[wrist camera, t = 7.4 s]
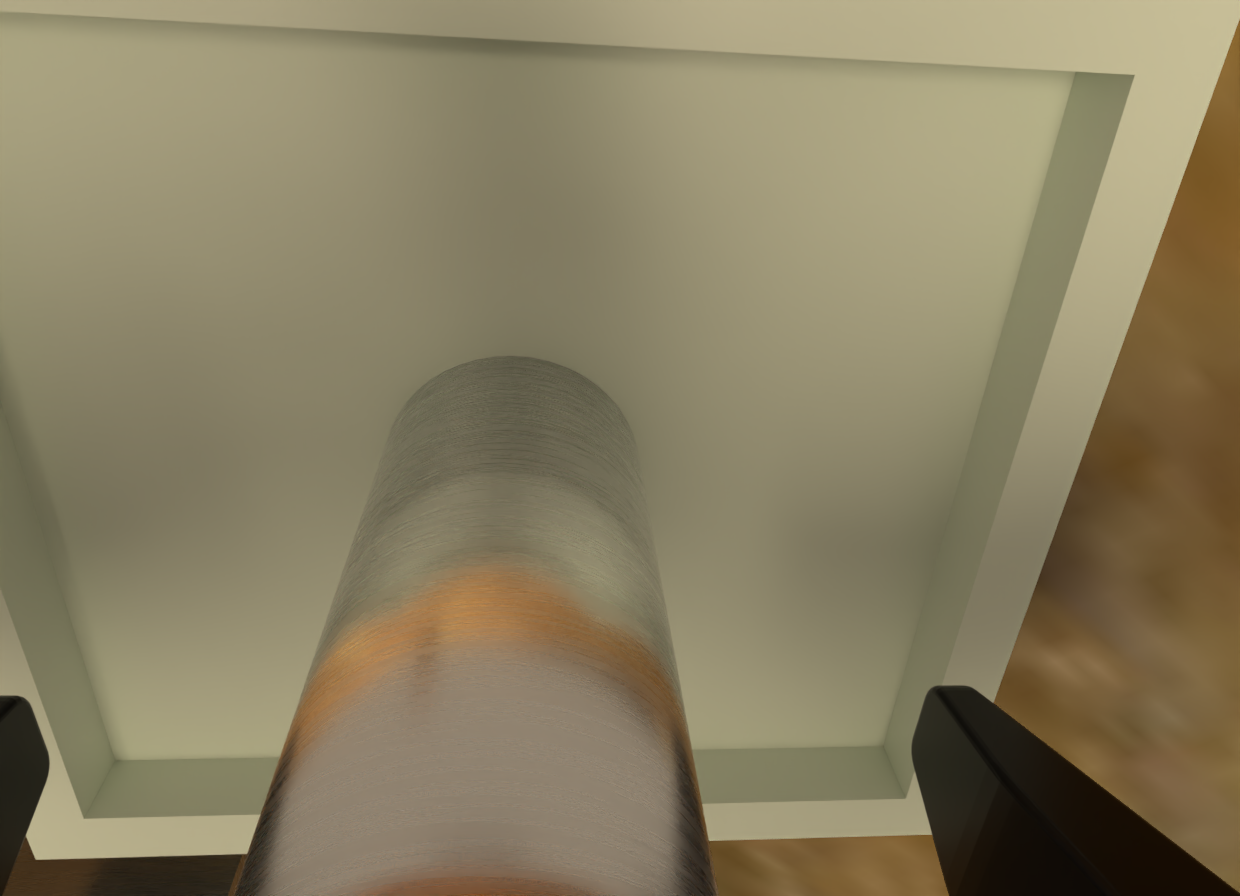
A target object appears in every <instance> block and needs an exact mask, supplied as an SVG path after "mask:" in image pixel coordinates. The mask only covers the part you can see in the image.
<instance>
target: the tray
mask: <svg viewBox="0 0 1240 896" xmlns="http://www.w3.org/2000/svg"><path fill="white" fill-rule="evenodd" d="M1239 19H1240V0H0V696H1V695H18V696H21V697H24V698H25V699H26V700H28V701H29V702H30V704H31V706H32V709H33V712H34V714H35V717H36V720H37V722H38V725H39V728H40V731H41V733H42V736H43V739H44V742H45V744H46V747H47V750H48V753H49V759H50V767H49V774H48V778H47V781H46V784H45V787H44V789H43V792H42V795H41V797H40V800H39V803H38V805H37V808H36V810H35V813H34V816H33V818H32V821H31V824H30V826H29V829H28V831H27V834H26V837H27V840H28V842H29V845H30V847H31V850H32V852H33V854H34V857H35V859H36V860H50V859H85V858H120V857H156V856H191V855H226V854H247V853H248V850H249V847H250V844H251V841H252V838H253V835H254V832H255V829H256V826H257V823H258V820H259V817H260V814H261V811H262V808H263V806H264V803H265V800H266V797H267V794H268V791H269V788H270V785H271V782H272V779H273V776H274V773H275V770H276V767H277V764H278V761H279V758H280V755H281V752H282V749H283V746H284V743H285V740H286V738H287V735H288V732H289V729H290V726H291V723H292V720H293V717H294V714H295V711H296V708H297V705H298V702H299V699H300V696H301V693H302V690H303V687H304V684H305V681H306V678H307V675H308V672H309V670H310V667H311V664H312V661H313V658H314V655H315V652H316V649H317V646H318V643H319V640H320V637H321V634H322V631H323V628H324V625H325V622H326V619H327V616H328V613H329V610H330V607H331V604H332V602H333V599H334V596H335V593H336V590H337V587H338V584H339V581H340V578H341V575H342V572H343V569H344V566H345V563H346V560H347V557H348V554H349V551H350V548H351V545H352V542H353V539H354V536H355V534H356V531H357V528H358V525H359V522H360V519H361V516H362V513H363V510H364V507H365V504H366V501H367V498H368V495H369V492H370V489H371V486H372V483H373V480H374V477H375V474H376V471H377V468H378V466H379V463H380V460H381V457H382V454H383V451H384V448H385V445H386V442H387V439H388V436H389V433H390V430H391V427H392V425H393V423H394V421H395V419H396V417H397V415H398V413H399V412H400V411H401V409H402V408H403V406H404V405H405V404H406V402H407V401H408V400H409V399H410V398H411V397H412V396H413V395H414V393H415V392H416V391H417V390H418V389H420V388H421V387H422V386H423V385H425V384H426V383H427V382H428V381H430V380H431V379H433V378H434V377H436V376H438V375H439V374H441V373H443V372H444V371H446V370H449V369H451V368H453V367H456V366H458V365H460V364H463V363H467V362H470V361H474V360H477V359H483V358H490V357H498V356H520V357H531V358H536V359H541V360H546V361H550V362H553V363H556V364H558V365H561V366H564V367H567V368H569V369H571V370H573V371H575V372H577V373H579V374H581V375H583V376H584V377H586V378H587V379H589V380H590V381H592V382H593V383H595V384H596V385H597V386H598V387H599V388H601V389H602V390H603V391H604V392H605V393H606V394H607V395H608V396H609V397H610V398H611V399H612V400H613V401H614V402H615V404H616V405H617V406H618V407H619V409H620V410H621V412H622V413H623V415H624V416H625V418H626V419H627V422H628V424H629V426H630V428H631V430H632V432H633V435H634V438H635V442H636V445H637V450H638V455H639V461H640V466H641V472H642V477H643V483H644V488H645V494H646V499H647V505H648V510H649V516H650V521H651V526H652V532H653V537H654V543H655V548H656V554H657V559H658V565H659V570H660V576H661V581H662V587H663V592H664V598H665V603H666V609H667V614H668V620H669V625H670V631H671V636H672V642H673V647H674V653H675V658H676V664H677V669H678V675H679V680H680V685H681V691H682V696H683V702H684V707H685V713H686V718H687V724H688V729H689V735H690V740H691V746H692V751H693V757H694V762H695V768H696V773H697V779H698V784H699V790H700V795H701V801H702V806H703V812H704V817H705V823H706V828H707V834H708V839H709V841H721V840H757V839H792V838H827V837H863V836H898V835H932V832H931V829H930V825H929V821H928V818H927V814H926V810H925V807H924V803H923V799H922V795H921V792H920V788H919V784H918V781H917V777H916V773H915V770H914V766H913V762H912V755H911V745H912V738H913V735H914V732H915V728H916V725H917V722H918V719H919V715H920V712H921V709H922V706H923V702H924V699H925V696H926V694H927V692H928V691H929V689H930V688H932V687H934V686H938V685H965V686H970V687H972V688H974V689H975V690H977V691H978V692H979V693H981V694H982V695H983V696H985V697H986V698H987V699H989V700H990V701H991V702H992V703H994V700H995V697H996V694H997V692H998V689H999V686H1000V683H1001V681H1002V678H1003V675H1004V672H1005V669H1006V667H1007V664H1008V661H1009V658H1010V656H1011V653H1012V650H1013V647H1014V644H1015V642H1016V639H1017V636H1018V633H1019V631H1020V628H1021V625H1022V622H1023V619H1024V617H1025V614H1026V611H1027V608H1028V606H1029V603H1030V600H1031V597H1032V594H1033V592H1034V589H1035V586H1036V583H1037V581H1038V578H1039V575H1040V572H1041V569H1042V567H1043V564H1044V561H1045V558H1046V556H1047V553H1048V550H1049V547H1050V544H1051V542H1052V539H1053V536H1054V533H1055V531H1056V528H1057V525H1058V522H1059V519H1060V517H1061V514H1062V511H1063V508H1064V505H1065V503H1066V500H1067V497H1068V494H1069V492H1070V489H1071V486H1072V483H1073V480H1074V478H1075V475H1076V472H1077V469H1078V467H1079V464H1080V461H1081V458H1082V455H1083V453H1084V450H1085V447H1086V444H1087V442H1088V439H1089V436H1090V433H1091V430H1092V428H1093V425H1094V422H1095V419H1096V417H1097V414H1098V411H1099V408H1100V405H1101V403H1102V400H1103V397H1104V394H1105V392H1106V389H1107V386H1108V383H1109V380H1110V378H1111V375H1112V372H1113V369H1114V367H1115V364H1116V361H1117V358H1118V355H1119V353H1120V350H1121V347H1122V344H1123V342H1124V339H1125V336H1126V333H1127V330H1128V328H1129V325H1130V322H1131V319H1132V316H1133V314H1134V311H1135V308H1136V305H1137V303H1138V300H1139V297H1140V294H1141V291H1142V289H1143V286H1144V283H1145V280H1146V278H1147V275H1148V272H1149V269H1150V266H1151V264H1152V261H1153V258H1154V255H1155V253H1156V250H1157V247H1158V244H1159V241H1160V239H1161V236H1162V233H1163V230H1164V228H1165V225H1166V222H1167V219H1168V216H1169V214H1170V211H1171V208H1172V205H1173V203H1174V200H1175V197H1176V194H1177V191H1178V189H1179V186H1180V183H1181V180H1182V178H1183V175H1184V172H1185V169H1186V166H1187V164H1188V161H1189V158H1190V155H1191V153H1192V150H1193V147H1194V144H1195V141H1196V139H1197V136H1198V133H1199V130H1200V127H1201V125H1202V122H1203V119H1204V116H1205V114H1206V111H1207V108H1208V105H1209V102H1210V100H1211V97H1212V94H1213V91H1214V89H1215V86H1216V83H1217V80H1218V77H1219V75H1220V72H1221V69H1222V66H1223V64H1224V61H1225V58H1226V55H1227V52H1228V50H1229V47H1230V44H1231V41H1232V39H1233V36H1234V33H1235V30H1236V27H1237V25H1238V22H1239Z"/></svg>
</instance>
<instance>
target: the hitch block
mask: <svg viewBox="0 0 1240 896" xmlns="http://www.w3.org/2000/svg"><path fill="white" fill-rule="evenodd" d="M246 856H247V854H226V855H191V856H156V857H120V858H85V859H50V860H36V859H35V857H34V854H33V852H32V850H31V847H30V845H29V842H28V840H27V837H25V839H24V842H23V845H22V847H21V850H20V852H19V855H18V858H17V860H16V863H15V866H14V868H13V871H12V873H11V876H10V879H9V881H8V884H7V887H6V889H5V892H4V894H3V896H233V894H234V891H235V888H236V885H237V882H238V879H239V876H240V873H241V871H242V868H243V865H244V862H245V859H246Z"/></svg>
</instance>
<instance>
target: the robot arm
mask: <svg viewBox="0 0 1240 896" xmlns="http://www.w3.org/2000/svg"><path fill="white" fill-rule="evenodd" d="M911 755H912V762H913V766H914V770H915V773H916V777H917V781H918V784H919V788H920V792H921V795H922V799H923V803H924V807H925V810H926V814H927V818H928V821H929V825H930V829H931V832H932V836H933V840H934V843H935V847H936V851H937V854H938V858H939V862H940V865H941V869H942V873H943V876H944V880H945V883H946V887H947V890H948V893H949V896H1240V893H1239V892H1238V891H1236V890H1235V889H1234V888H1232V887H1231V886H1230V885H1228V884H1227V883H1226V882H1225V881H1223V880H1222V879H1221V878H1219V877H1218V876H1217V875H1215V874H1214V873H1213V872H1212V871H1210V870H1209V869H1208V868H1206V867H1205V866H1204V865H1203V864H1201V863H1200V862H1199V861H1197V860H1196V859H1195V858H1193V857H1192V856H1191V855H1190V854H1188V853H1187V852H1186V851H1184V850H1183V849H1182V848H1180V847H1179V846H1178V845H1177V844H1175V843H1174V842H1173V841H1171V840H1170V839H1169V838H1168V837H1166V836H1165V835H1164V834H1162V833H1161V832H1160V831H1158V830H1157V829H1156V828H1155V827H1153V826H1152V825H1151V824H1149V823H1148V822H1147V821H1145V820H1144V819H1143V818H1142V817H1140V816H1139V815H1138V814H1136V813H1135V812H1134V811H1133V810H1131V809H1130V808H1129V807H1127V806H1126V805H1125V804H1123V803H1122V802H1121V801H1120V800H1118V799H1117V798H1116V797H1114V796H1113V795H1112V794H1110V793H1109V792H1108V791H1107V790H1105V789H1104V788H1103V787H1101V786H1100V785H1099V784H1097V783H1096V782H1095V781H1094V780H1092V779H1091V778H1090V777H1088V776H1087V775H1086V774H1085V773H1083V772H1082V771H1081V770H1079V769H1078V768H1077V767H1075V766H1074V765H1073V764H1072V763H1070V762H1069V761H1068V760H1066V759H1065V758H1064V757H1062V756H1061V755H1060V754H1059V753H1057V752H1056V751H1055V750H1053V749H1052V748H1051V747H1050V746H1048V745H1047V744H1046V743H1044V742H1043V741H1042V740H1040V739H1039V738H1038V737H1037V736H1035V735H1034V734H1033V733H1031V732H1030V731H1029V730H1027V729H1026V728H1025V727H1024V726H1022V725H1021V724H1020V723H1018V722H1017V721H1016V720H1015V719H1013V718H1012V717H1011V716H1009V715H1008V714H1007V713H1005V712H1004V711H1003V710H1002V709H1000V708H999V707H998V706H996V705H995V704H994V703H992V702H991V701H990V700H989V699H987V698H986V697H985V696H983V695H982V694H981V693H979V692H978V691H977V690H975V689H974V688H972V687H970V686H965V685H938V686H934V687H932V688H930V689H929V691H928V692H927V694H926V696H925V699H924V702H923V706H922V709H921V712H920V715H919V719H918V722H917V725H916V728H915V732H914V735H913V738H912V745H911ZM49 767H50V759H49V753H48V750H47V747H46V744H45V742H44V739H43V736H42V733H41V731H40V728H39V725H38V722H37V720H36V717H35V714H34V712H33V709H32V706H31V704H30V702H29V701H28V700H26V699H25V698H24V697H21V696H18V695H1V696H0V896H3V894H4V892H5V889H6V887H7V884H8V881H9V879H10V876H11V873H12V871H13V868H14V866H15V863H16V860H17V858H18V855H19V852H20V850H21V847H22V845H23V842H24V839H25V837H26V834H27V831H28V829H29V826H30V824H31V821H32V818H33V816H34V813H35V810H36V808H37V805H38V803H39V800H40V797H41V795H42V792H43V789H44V787H45V784H46V781H47V778H48V774H49Z"/></svg>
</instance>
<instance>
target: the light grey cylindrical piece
mask: <svg viewBox="0 0 1240 896" xmlns="http://www.w3.org/2000/svg"><path fill="white" fill-rule="evenodd" d="M233 896H719V894H718V888H717V883H716V877H715V872H714V866H713V861H712V855H711V850H710V844H709V839H708V834H707V828H706V823H705V817H704V812H703V806H702V801H701V795H700V790H699V784H698V779H697V773H696V768H695V762H694V757H693V751H692V746H691V740H690V735H689V729H688V724H687V718H686V713H685V707H684V702H683V696H682V691H681V685H680V680H679V675H678V669H677V664H676V658H675V653H674V647H673V642H672V636H671V631H670V625H669V620H668V614H667V609H666V603H665V598H664V592H663V587H662V581H661V576H660V570H659V565H658V559H657V554H656V548H655V543H654V537H653V532H652V526H651V521H650V516H649V510H648V505H647V499H646V494H645V488H644V483H643V477H642V472H641V466H640V461H639V455H638V450H637V445H636V442H635V438H634V435H633V432H632V430H631V428H630V426H629V424H628V422H627V419H626V418H625V416H624V415H623V413H622V412H621V410H620V409H619V407H618V406H617V405H616V404H615V402H614V401H613V400H612V399H611V398H610V397H609V396H608V395H607V394H606V393H605V392H604V391H603V390H602V389H601V388H599V387H598V386H597V385H596V384H595V383H593V382H592V381H590V380H589V379H587V378H586V377H584V376H583V375H581V374H579V373H577V372H575V371H573V370H571V369H569V368H567V367H564V366H561V365H558V364H556V363H553V362H550V361H546V360H541V359H536V358H531V357H520V356H498V357H490V358H483V359H477V360H474V361H470V362H467V363H463V364H460V365H458V366H456V367H453V368H451V369H449V370H446V371H444V372H443V373H441V374H439V375H438V376H436V377H434V378H433V379H431V380H430V381H428V382H427V383H426V384H425V385H423V386H422V387H421V388H420V389H418V390H417V391H416V392H415V393H414V395H413V396H412V397H411V398H410V399H409V400H408V401H407V402H406V404H405V405H404V406H403V408H402V409H401V411H400V412H399V413H398V415H397V417H396V419H395V421H394V423H393V425H392V427H391V430H390V433H389V436H388V439H387V442H386V445H385V448H384V451H383V454H382V457H381V460H380V463H379V466H378V468H377V471H376V474H375V477H374V480H373V483H372V486H371V489H370V492H369V495H368V498H367V501H366V504H365V507H364V510H363V513H362V516H361V519H360V522H359V525H358V528H357V531H356V534H355V536H354V539H353V542H352V545H351V548H350V551H349V554H348V557H347V560H346V563H345V566H344V569H343V572H342V575H341V578H340V581H339V584H338V587H337V590H336V593H335V596H334V599H333V602H332V604H331V607H330V610H329V613H328V616H327V619H326V622H325V625H324V628H323V631H322V634H321V637H320V640H319V643H318V646H317V649H316V652H315V655H314V658H313V661H312V664H311V667H310V670H309V672H308V675H307V678H306V681H305V684H304V687H303V690H302V693H301V696H300V699H299V702H298V705H297V708H296V711H295V714H294V717H293V720H292V723H291V726H290V729H289V732H288V735H287V738H286V740H285V743H284V746H283V749H282V752H281V755H280V758H279V761H278V764H277V767H276V770H275V773H274V776H273V779H272V782H271V785H270V788H269V791H268V794H267V797H266V800H265V803H264V806H263V808H262V811H261V814H260V817H259V820H258V823H257V826H256V829H255V832H254V835H253V838H252V841H251V844H250V847H249V850H248V853H247V856H246V859H245V862H244V865H243V868H242V871H241V873H240V876H239V879H238V882H237V885H236V888H235V891H234V894H233Z"/></svg>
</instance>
